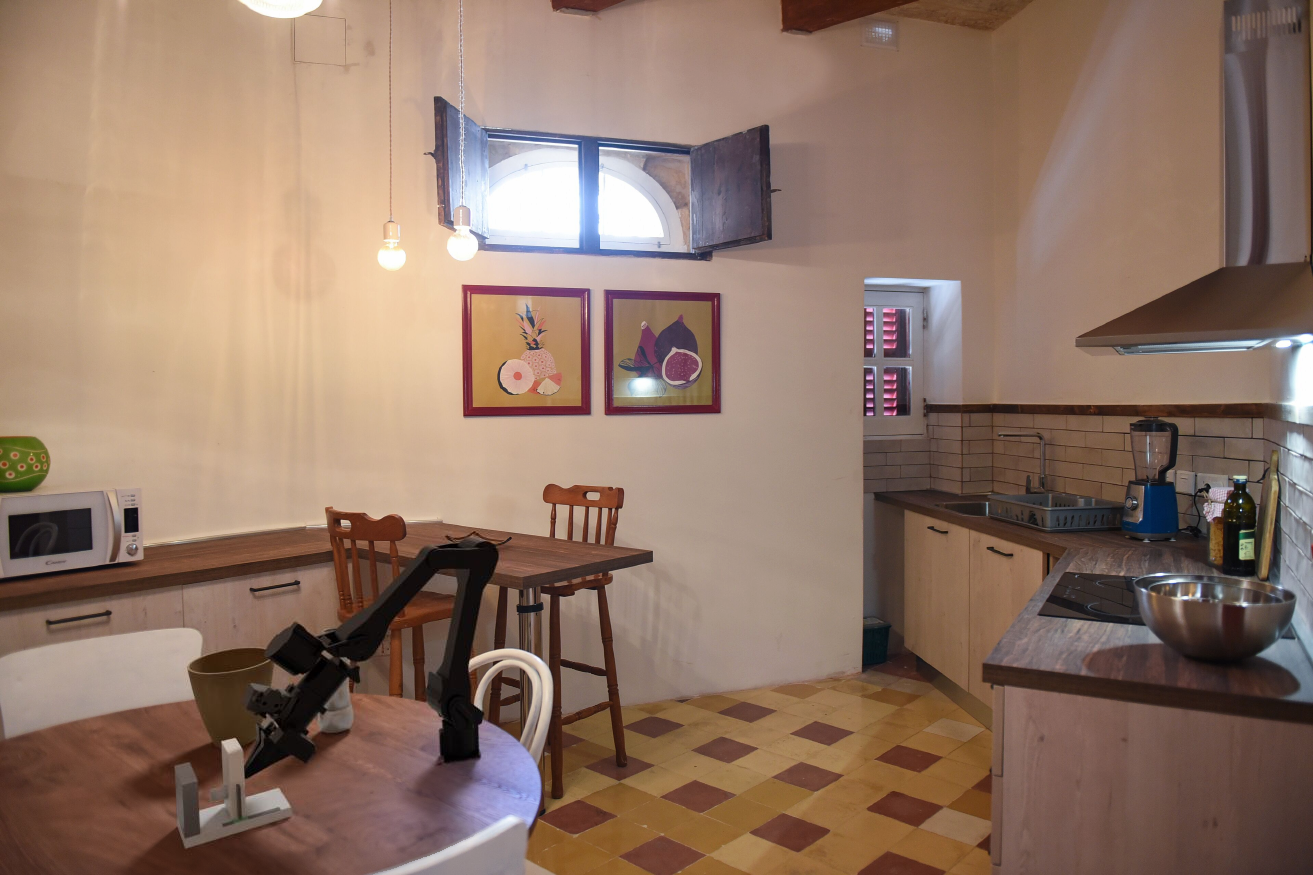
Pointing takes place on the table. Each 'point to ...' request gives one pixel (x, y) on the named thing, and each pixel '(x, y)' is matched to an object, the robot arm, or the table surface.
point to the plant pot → (229, 691)
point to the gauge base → (220, 823)
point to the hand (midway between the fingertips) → (242, 776)
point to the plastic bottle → (337, 705)
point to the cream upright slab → (232, 780)
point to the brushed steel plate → (187, 800)
